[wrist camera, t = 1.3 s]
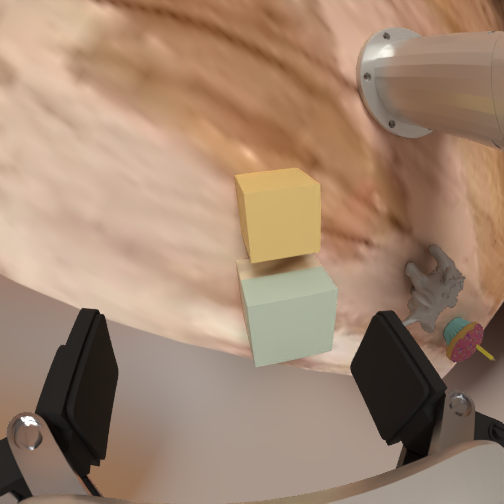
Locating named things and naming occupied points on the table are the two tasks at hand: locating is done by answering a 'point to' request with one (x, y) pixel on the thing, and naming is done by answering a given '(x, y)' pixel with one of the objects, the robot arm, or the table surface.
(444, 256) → the gray elephant figurine
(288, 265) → the tower base
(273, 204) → the block
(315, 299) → the pale green square block
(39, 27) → the table surface
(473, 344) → the cupcake
